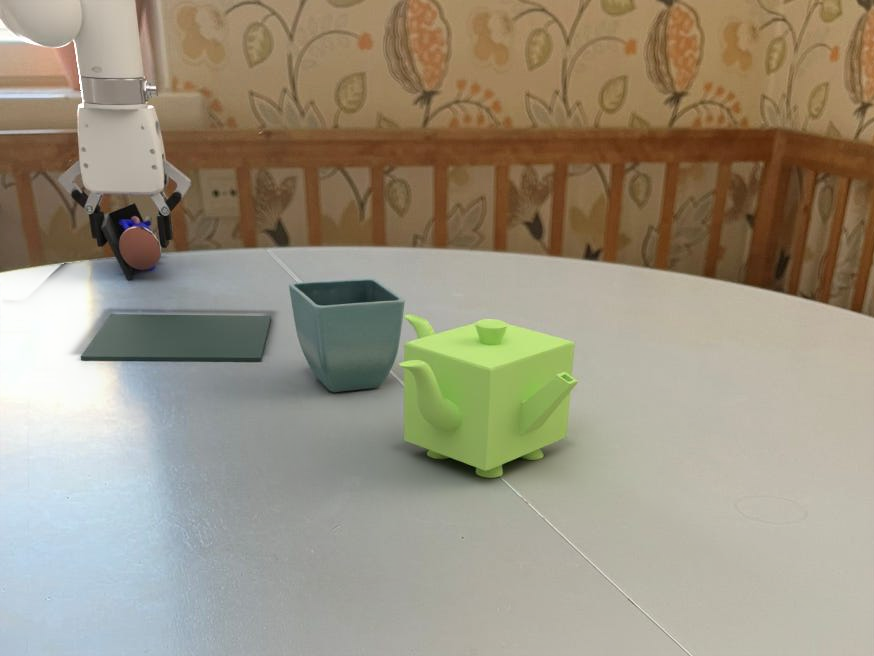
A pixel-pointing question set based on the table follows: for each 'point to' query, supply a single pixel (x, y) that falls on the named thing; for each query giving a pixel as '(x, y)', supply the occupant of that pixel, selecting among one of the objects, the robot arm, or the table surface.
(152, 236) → the character figurine
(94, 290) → the table surface
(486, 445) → the kettle
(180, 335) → the placemat
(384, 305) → the flower pot
